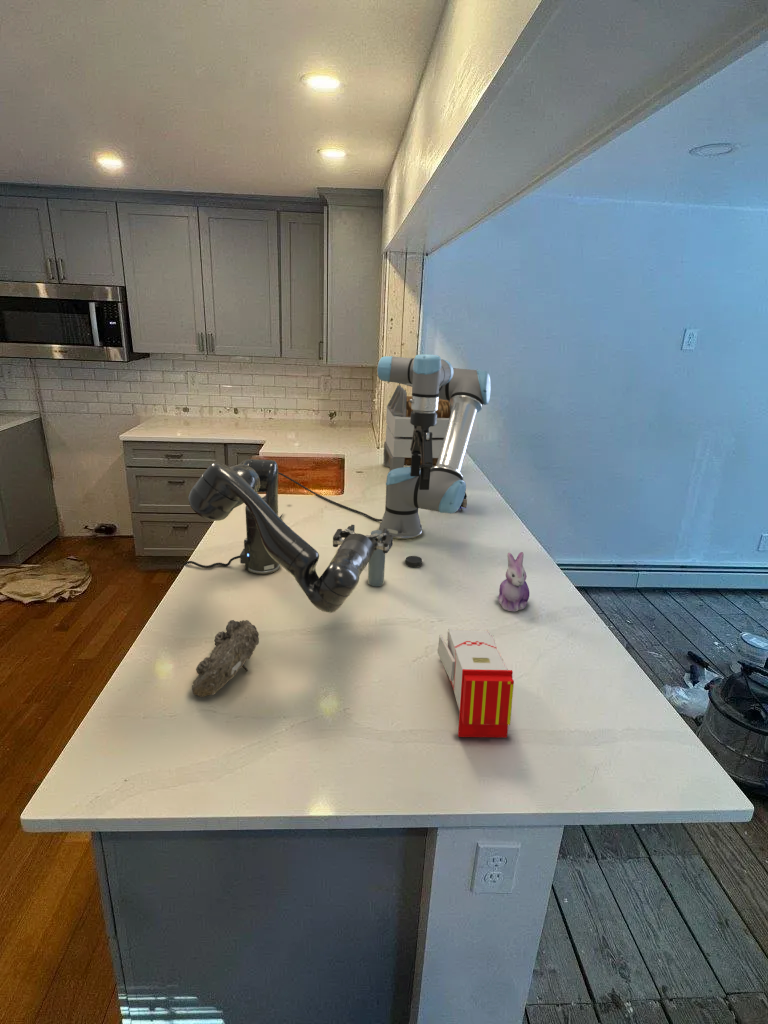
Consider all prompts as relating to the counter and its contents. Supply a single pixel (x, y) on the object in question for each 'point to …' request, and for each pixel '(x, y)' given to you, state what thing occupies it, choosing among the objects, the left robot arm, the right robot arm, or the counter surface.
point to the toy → (478, 682)
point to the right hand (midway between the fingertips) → (419, 482)
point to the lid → (413, 561)
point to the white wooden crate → (410, 430)
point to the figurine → (514, 585)
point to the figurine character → (464, 502)
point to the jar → (376, 565)
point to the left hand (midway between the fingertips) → (369, 529)
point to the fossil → (226, 657)
